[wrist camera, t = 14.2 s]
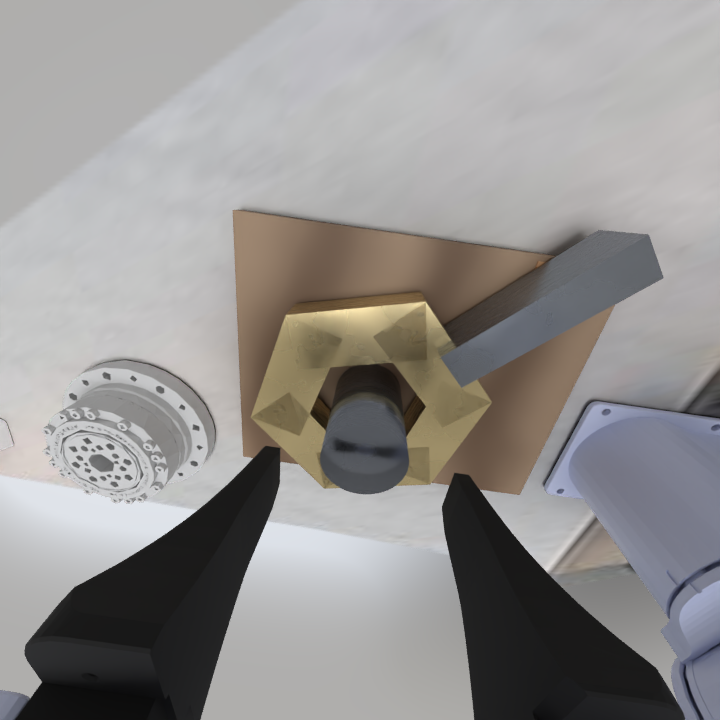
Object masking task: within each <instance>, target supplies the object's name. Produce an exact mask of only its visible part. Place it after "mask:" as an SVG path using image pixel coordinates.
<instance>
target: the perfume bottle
mask: <svg viewBox="0 0 720 720" xmlns="http://www.w3.org/2000/svg"><path fill="white" fill-rule="evenodd" d="M13 445H14V444H13V441H12V438H11V435H10V432H9V429H8V426H7V423H6V422H5V421H4V420H2V419H0V451H1V450H4V449H6V448H9V447H11V446H13Z"/></svg>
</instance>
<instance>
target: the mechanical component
mask: <svg viewBox="0 0 720 720" xmlns="http://www.w3.org/2000/svg"><path fill="white" fill-rule="evenodd" d="M42 432H43V433H44V434H45V438H46V442H47V446H48V447H47V448H46V449H44V450H43V453H44V454H45V455H46V456H49V457H51V456H52V457H53V459H52V460H50V461H49V464H50V465H51V466H52V467H55V468H56V467H60V469H61V470H60V471H59V475H60V476H61V477H62V478H67V477H69V478H70V479H71V480H72V481H74V482H75V483H77V484H78V485H80V486H81V487H83V488H84V490H83V491H84V493H86V494H89V495H91V494H92V493H93V492H94V493H97V494H99V495H102V496H105V497H110V498H111V501H112V502H114V503H119V502H120V501H121V500H124V502H126V503H127V504H132V503H133V502H134V501H135V500H137V501H138V502H144V501H145V499H146V498H149V497H152V496H154V495H155V494H156V493H158V492H159V491H161V490H162V488H163V487H164V486H165V485H166V484H171V483H175V482H179V481H182V480H185V479H187V478H189V477H190V476H192V475H194V474H195V473H197V472H198V471H199V469H200V468H201V467H202V465H203V464H204V462H205V461H206V459H207V458H208V457H209V455H210V454H211V452H212V449H213V446H214V443H215V430H214V424H213V421H212V419H211V417H210V415H209V412H208V410H207V408H206V406H205V405H204V403H203V402H202V401H201V400H200V399H199V398H198V396H197V395H196V394H195V393H194V392H193V391H192V390H191V389H190V388H189V387H188V386H187V385H185V384H184V383H183V382H182V381H181V380H179V379H177V378H176V377H174V376H172V375H171V374H169V373H167V372H166V371H163V370H161V369H158V368H156V367H154V366H151V365H148V364H143V363H138V362H133V361H128V360H122V361H114V362H106V363H102V364H100V365H98V366H95V367H93V368H91V369H89V370H87V371H85V372H84V373H82V374H81V375H79V376H78V377H77V378H76V379H74V380H73V381H72V382H71V383H70V384H69V386H68V388H67V389H66V391H65V394H64V398H63V410H62V411H60V412H59V413H57V414H55V415H54V416H53V417H52V418H51V419H50V421H49V424H48V426H46V427H44V428H43V429H42Z"/></svg>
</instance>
